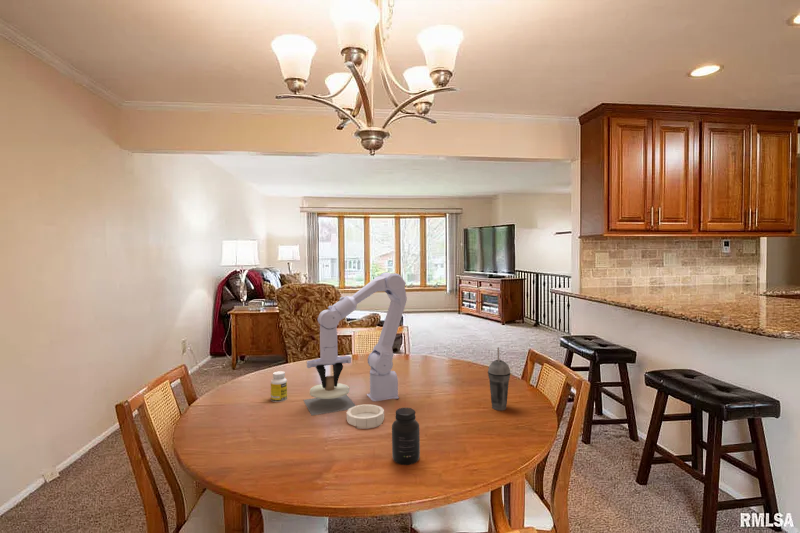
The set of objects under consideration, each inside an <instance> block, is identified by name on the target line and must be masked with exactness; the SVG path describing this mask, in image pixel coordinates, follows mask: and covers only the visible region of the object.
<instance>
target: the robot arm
mask: <svg viewBox="0 0 800 533" xmlns="http://www.w3.org/2000/svg"><path fill="white" fill-rule="evenodd" d="M405 287H406V281H405V280H404V278H403V277H402V276H401V275H400V274H399V273H397V272H395V273H391V272H382V273H381V274H380V275H377V276H375V277H374V278H373V279H372V280H371V281H369V282H368V283H367V284H365V285H364V286H363V287H361V288H360V289H359V290H358V291H356V292H354V294H352V295H351V296H350V295H344V296H341V297H339V300H338V301H337V302H335V303H334V304H332V305H329V306H327V308H328V309H324V310H322V311H320V313H319V315H318V317H317V318H316V319H317V322H318V324H319V331H320V332H319V353H320V355H319V356H320V358H317V359H312V360H306V368H307V369H311V368H315V369H316V370H317V373H318V375H319V377H320V382H321V384H322V387H323V388H326V382H325V377H326V372H327V370H326V368H325V367H326V366H332V369H333V370H332V372H333V373H332V374H333V376H334V383H335V387H336V386H337V383H338V382H339V379H340V377H341V376H340V375H341V373H342V370H343V368H344V364H351V363H352V357H351V356H350V355H349V356H348V355H345V356H339V355H338V354H339V353H338V328H337V327H338V325H339V323H340V321H342V320H344V319H345V318H347V316H349V315H350V314H352V313H353V312H354V311H356V310H357V305H358V304H360V303H362V301H365V299H367V298H368V297H370V296H372V295H374V294H375V293H377V292H385V293H386V294H387V297H388V298H389V299H390V303H389V306H388V310H387V312H386V315H385V319H384V322H383V325H382V328H381V332H380V334H379V337H378V342H377V343H376V344H375V345H374V346H373V347H372V348H373V349H372V351H371V352H370V353H369V355H368V356H367V365H368V366H369V367H370V370H369V393H366V396H367V397H368V398H369V399H370V400H371V401H372V402H379V401H385V400H386V401H387V400H397V399H398V400H399V399H400V398H399V380H398V375H397V374H398V373H396V371H395V370H393V367H394V366H393V365H394V363H393V358H394V351H393V347H394V342H395V340H396V336H397V333H398V329H399V326H400V323H401V319H402V317H403V314H404V311H405V306H406V303H407V302H408V300H407V299H408V298H407V292H406V288H405Z"/></svg>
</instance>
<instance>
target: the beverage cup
mask: <svg viewBox="0 0 800 533" xmlns="http://www.w3.org/2000/svg"><path fill="white" fill-rule="evenodd" d="M496 349H497V359H495V360H493V361H492V362H490V364H489V366H488V369H487V376H488V380H489V390H490V401H491V408H492V409H493V410H495V411H505V410H506V409H507V406H508V397H509V396H508V394H509V385H510V384H509V381H510V378H511V374H512V373H511V369H510V366H509V365H508V363H507V362H505V361H504V360H501V359H500V347H497V348H496Z"/></svg>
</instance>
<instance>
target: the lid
mask: <svg viewBox="0 0 800 533" xmlns="http://www.w3.org/2000/svg"><path fill="white" fill-rule="evenodd" d="M325 382H326V388H323V387H322V383H320V384H317V385H313V386H312V387H311V388H310V389H309V396H311V398H312V397H313V398H320V399H332V398H338V397H342V396H345V395H347V396H348V395H349V393H350V387H349V386H348V385H347V384H345V383H340V382H339V383H337V386H336V387H335V383H334V375H327V376H326V375H325Z"/></svg>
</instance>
